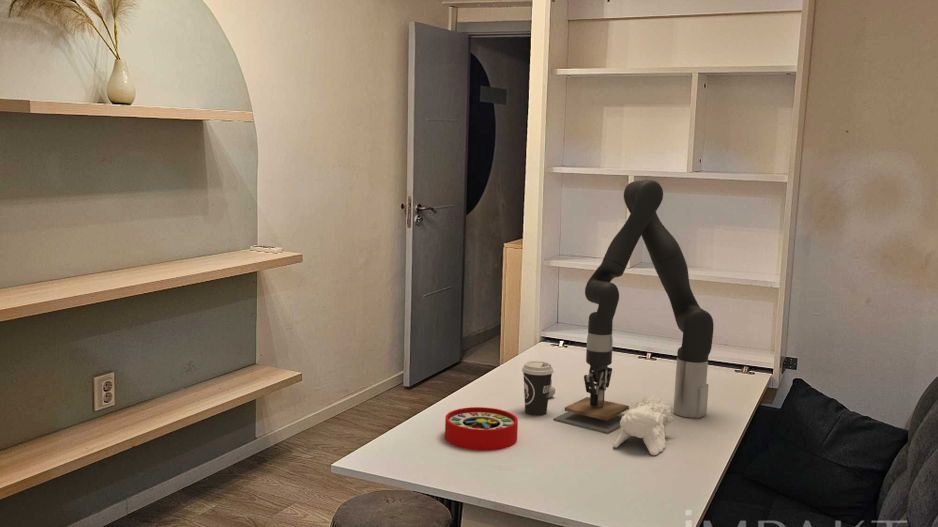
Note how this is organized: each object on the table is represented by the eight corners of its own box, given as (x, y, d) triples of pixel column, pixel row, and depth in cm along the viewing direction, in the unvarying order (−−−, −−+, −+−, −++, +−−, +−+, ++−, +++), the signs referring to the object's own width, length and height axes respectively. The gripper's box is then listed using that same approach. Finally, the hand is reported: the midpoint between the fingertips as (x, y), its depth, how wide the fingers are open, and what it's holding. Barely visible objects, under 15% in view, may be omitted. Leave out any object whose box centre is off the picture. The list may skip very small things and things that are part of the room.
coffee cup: (540, 419, 257) (542, 370, 255) (513, 412, 263) (515, 364, 261) (557, 412, 265) (559, 364, 263) (531, 405, 271) (533, 358, 269)
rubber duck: (535, 398, 278) (537, 374, 277) (540, 393, 284) (541, 369, 283) (552, 400, 276) (553, 376, 275) (556, 395, 283) (558, 371, 282)
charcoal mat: (635, 418, 261) (636, 417, 261) (607, 434, 246) (607, 431, 246) (583, 406, 271) (583, 404, 271) (553, 420, 257) (553, 418, 257)
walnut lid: (628, 408, 260) (629, 389, 259) (607, 420, 249) (607, 400, 248) (587, 400, 268) (587, 381, 267) (564, 410, 257) (565, 391, 256)
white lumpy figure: (680, 401, 244) (661, 412, 227) (675, 445, 245) (655, 459, 228) (635, 392, 251) (613, 402, 233) (630, 434, 251) (607, 448, 234)
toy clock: (504, 405, 252) (528, 427, 233) (503, 424, 252) (527, 448, 233) (437, 409, 246) (456, 432, 227) (436, 429, 247) (455, 454, 228)
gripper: (599, 354, 248) (597, 412, 250) (621, 345, 259) (619, 401, 262) (576, 350, 252) (574, 407, 255) (599, 341, 263) (596, 396, 266)
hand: (597, 404), depth 258 cm, fingers closed on walnut lid, 3 cm apart
